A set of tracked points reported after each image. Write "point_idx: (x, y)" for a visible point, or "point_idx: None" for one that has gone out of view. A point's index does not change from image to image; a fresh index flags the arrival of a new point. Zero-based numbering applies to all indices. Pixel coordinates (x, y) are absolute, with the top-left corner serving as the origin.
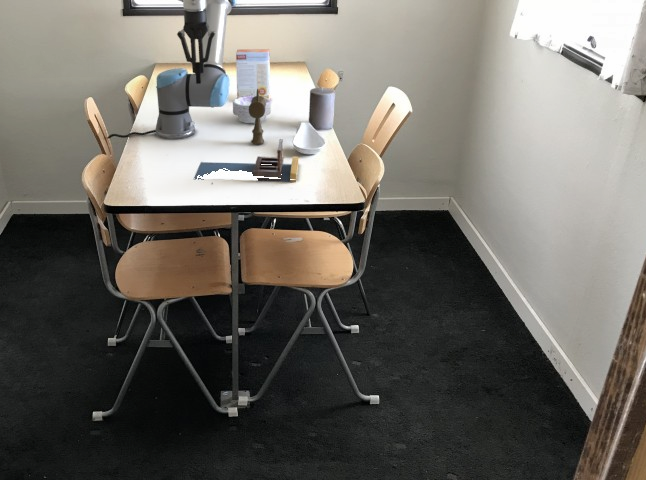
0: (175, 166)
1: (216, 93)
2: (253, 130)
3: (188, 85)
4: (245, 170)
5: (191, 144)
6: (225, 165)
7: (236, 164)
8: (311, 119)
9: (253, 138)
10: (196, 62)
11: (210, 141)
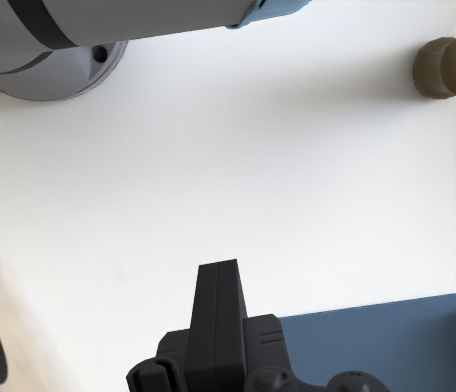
0: None
1: (280, 14)
2: (452, 82)
3: (45, 17)
4: (436, 359)
5: (166, 139)
6: (359, 332)
7: (396, 315)
8: None
9: (434, 84)
10: (193, 389)
11: (232, 85)
